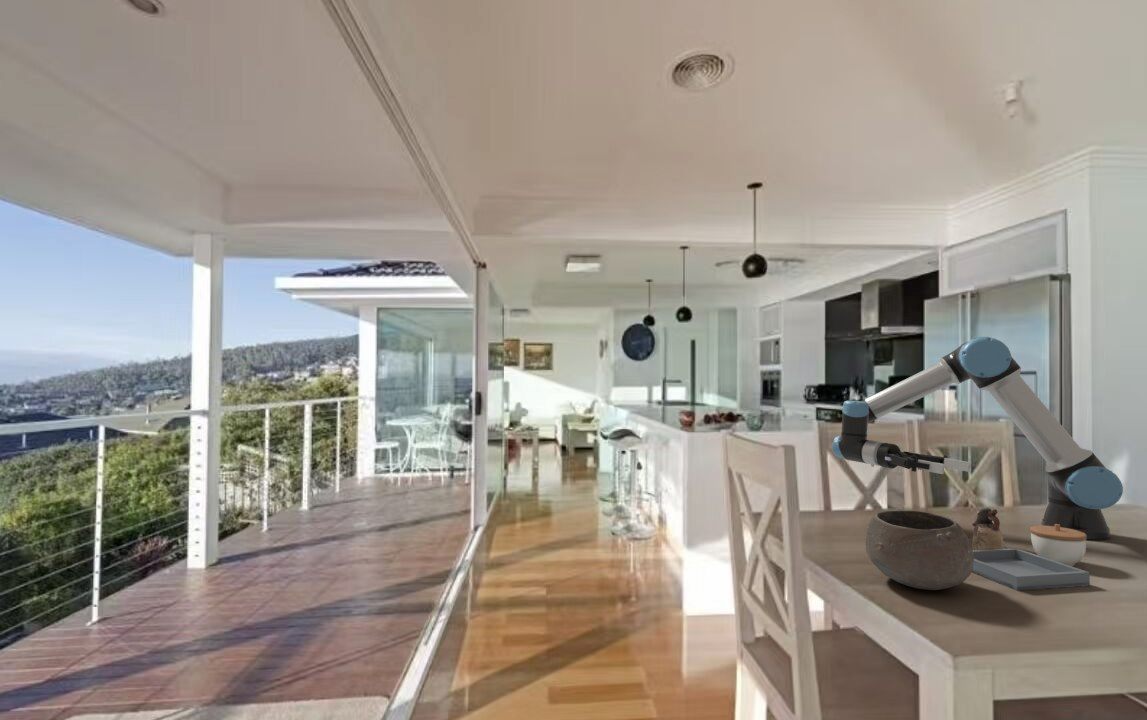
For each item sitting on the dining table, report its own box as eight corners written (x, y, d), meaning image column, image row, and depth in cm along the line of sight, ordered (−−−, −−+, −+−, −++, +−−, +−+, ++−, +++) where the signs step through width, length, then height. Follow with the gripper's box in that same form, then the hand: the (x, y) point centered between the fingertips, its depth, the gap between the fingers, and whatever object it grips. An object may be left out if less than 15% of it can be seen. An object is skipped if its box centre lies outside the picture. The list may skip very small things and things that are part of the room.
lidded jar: (1037, 565, 137) (1035, 527, 138) (1026, 553, 147) (1025, 517, 147) (1094, 572, 132) (1093, 532, 133) (1079, 559, 142) (1078, 521, 142)
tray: (1015, 560, 142) (1015, 548, 142) (1089, 586, 124) (1089, 572, 124) (951, 563, 139) (951, 551, 139) (1017, 590, 121) (1016, 576, 122)
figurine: (988, 548, 151) (986, 503, 152) (1012, 556, 144) (1010, 509, 145) (965, 550, 150) (963, 505, 151) (988, 558, 143) (986, 511, 144)
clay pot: (981, 609, 112) (979, 534, 112) (864, 591, 122) (862, 522, 122) (967, 576, 130) (965, 511, 131) (867, 563, 140) (865, 503, 141)
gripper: (904, 464, 180) (978, 479, 161) (856, 468, 167) (930, 484, 149) (905, 441, 180) (980, 453, 161) (858, 443, 167) (932, 456, 149)
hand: (956, 468), depth 155 cm, fingers open, 13 cm apart
